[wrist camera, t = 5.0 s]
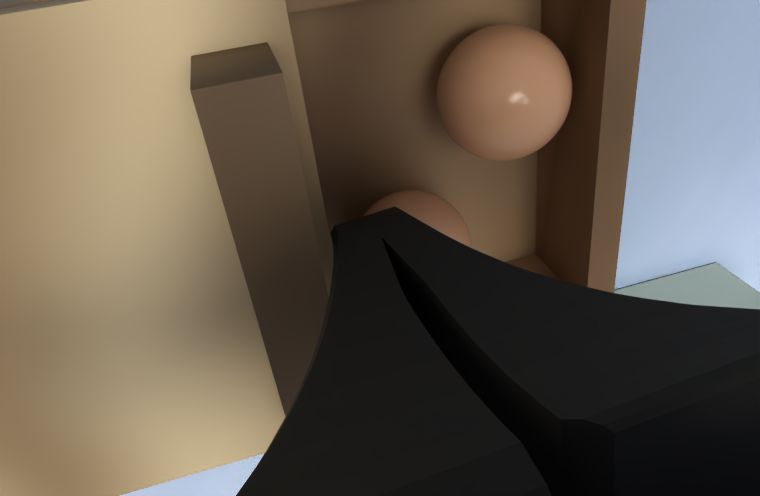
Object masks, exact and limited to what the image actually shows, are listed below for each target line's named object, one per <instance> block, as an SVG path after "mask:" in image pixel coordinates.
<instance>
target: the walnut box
mask: <svg viewBox="0 0 760 496" xmlns="http://www.w3.org/2000/svg"><path fill="white" fill-rule="evenodd" d="M49 1H55V0H0V9H5V8H11V7H18V6H24V5H30V4H36V3H42V2H49ZM285 3H286V8H287V13H288V18H289V24H290V29H291V34H292V39H293V45H294V50H295V55H296V60H297V66H298V71H299V76H300V81H301V87H302V92H303V97H304V102H305V108H306V113H307V118H308V123H309V129H310V134H311V139H312V145H313V150H314V155H315V160H316V166H317V171H318V176H319V181H320V187H321V192H322V197H323V202H324V208H325V213H326V218H327V223H328V229H329V234H330V232H331V231H332V229H333V228H334V226H335V225H338V224H341V223H344V222H347V221H351V220H354V219H357V218H360V217H362V216H363V215H364V213H365V212H366V211H367V210H368V208H369V207H370V206H372V205H373V204H374V203H375V202H376V201H378V200H379V199H381V198H383V197H384V196H386V195H389V194H391V193H394V192H398V191H403V190H421V191H426V192H430V193H433V194H436V195H438V196H439V197H441V198H443V199H445V200H446V201H448V202H449V203H450V204H452V205H453V206H454V207H455V208H456V209H457V210H458V212H459V213H460V214H461V216H462V217H463V219H464V220H465V222H466V224H467V227H468V229H469V232H470V236H471V241H472V248H473V249H475V250H477V251H479V252H482V253H484V254H486V255H489V256H491V257H494V258H496V259H498V260H501V261H503V262H506V263H508V264H511V265H514V266H516V267H519V268H522V269H525V270H528V271H531V272H534V273H538V274H541V275H544V276H547V277H550V278H553V279H557V280H560V281H564V282H568V283H572V284H576V285H580V286H585V287H589V288H594V289H598V290H603V291H607V292H612V293H614V286H615V277H616V268H617V259H618V250H619V241H620V233H621V224H622V215H623V206H624V197H625V188H626V179H627V170H628V161H629V152H630V143H631V134H632V125H633V116H634V107H635V98H636V89H637V80H638V71H639V62H640V53H641V44H642V35H643V26H644V17H645V8H646V0H285ZM497 24H519V25H524V26H528V27H530V28H533V29H535V30H537V31H539V32H541V33H542V34H544V35H546V36H547V37H548V38H549V39H551V40H552V41H553V42H554V43H555V45H556V46H557V47H558V48H559V49H560V51H561V52H562V54H563V55H564V57H565V59H566V61H567V64H568V66H569V69H570V73H571V78H572V100H571V104H570V109H569V112H568V115H567V117H566V119H565V121H564V123H563V125H562V127H561V128H560V130H559V131H558V132H557V134H556V135H555V136H554V137H553V138H552V139H551V140H550V141H549V142H548V143H547V144H546V145H545V146H543V147H542V148H540V149H539V150H537V151H536V152H534V153H532V154H530V155H528V156H525V157H523V158H519V159H515V160H509V161H494V160H487V159H483V158H480V157H477V156H475V155H472V154H470V153H469V152H467V151H466V150H464V149H463V148H461V147H460V146H459V145H458V144H457V143H455V141H454V140H453V139H452V138H451V137H450V135H449V134H448V133H447V131H446V129H445V128H444V126H443V123H442V121H441V119H440V116H439V112H438V108H437V83H438V79H439V75H440V72H441V70H442V67H443V65H444V63H445V61H446V59H447V58H448V56H449V55H450V53H451V52H452V51H453V49H454V48H455V47H456V46H457V45H458V44H459V43H460V42H461V41H462V40H464V39H465V38H466V37H468V36H469V35H471V34H472V33H474V32H476V31H478V30H480V29H483V28H485V27H488V26H492V25H497ZM330 239H331V244H332V250H333V240H332V237H331V234H330Z"/></svg>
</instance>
